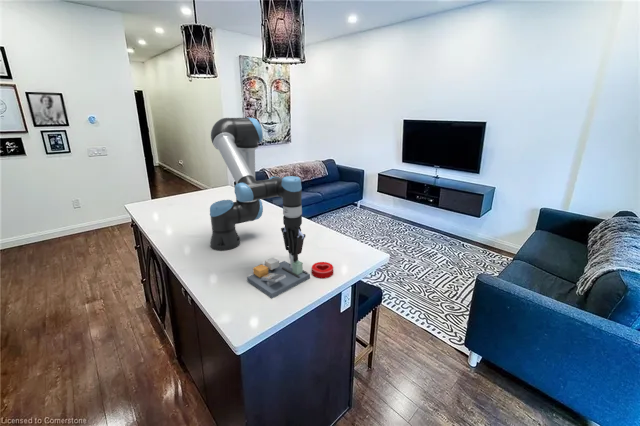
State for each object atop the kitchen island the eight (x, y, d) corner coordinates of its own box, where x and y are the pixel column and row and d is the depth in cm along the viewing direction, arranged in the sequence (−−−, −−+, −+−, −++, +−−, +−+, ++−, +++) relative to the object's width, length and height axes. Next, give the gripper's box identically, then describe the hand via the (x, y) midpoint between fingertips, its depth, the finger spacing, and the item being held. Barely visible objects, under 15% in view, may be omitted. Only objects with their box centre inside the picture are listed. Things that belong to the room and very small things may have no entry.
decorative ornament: (316, 280, 124) (317, 274, 123) (308, 270, 132) (308, 264, 131) (337, 276, 127) (337, 269, 126) (327, 266, 136) (327, 259, 135)
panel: (247, 281, 122) (246, 273, 121) (284, 264, 136) (284, 257, 135) (272, 298, 111) (271, 289, 110) (309, 278, 125) (309, 270, 124)
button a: (253, 273, 123) (253, 267, 122) (262, 269, 126) (261, 264, 125) (259, 277, 120) (259, 271, 119) (268, 273, 123) (268, 267, 122)
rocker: (261, 280, 119) (260, 277, 119) (271, 275, 122) (270, 272, 122) (275, 282, 112) (274, 279, 111) (285, 277, 115) (285, 274, 115)
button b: (265, 266, 127) (264, 260, 126) (273, 262, 130) (273, 257, 129) (271, 270, 124) (271, 264, 123) (279, 266, 127) (279, 260, 126)
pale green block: (292, 272, 125) (292, 262, 124) (297, 269, 127) (297, 260, 126) (297, 275, 123) (297, 265, 121) (302, 272, 125) (302, 262, 124)
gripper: (275, 213, 120) (277, 264, 128) (296, 221, 112) (297, 275, 119) (289, 209, 125) (290, 259, 133) (310, 216, 117) (310, 269, 124)
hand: (293, 266), depth 126 cm, fingers closed
